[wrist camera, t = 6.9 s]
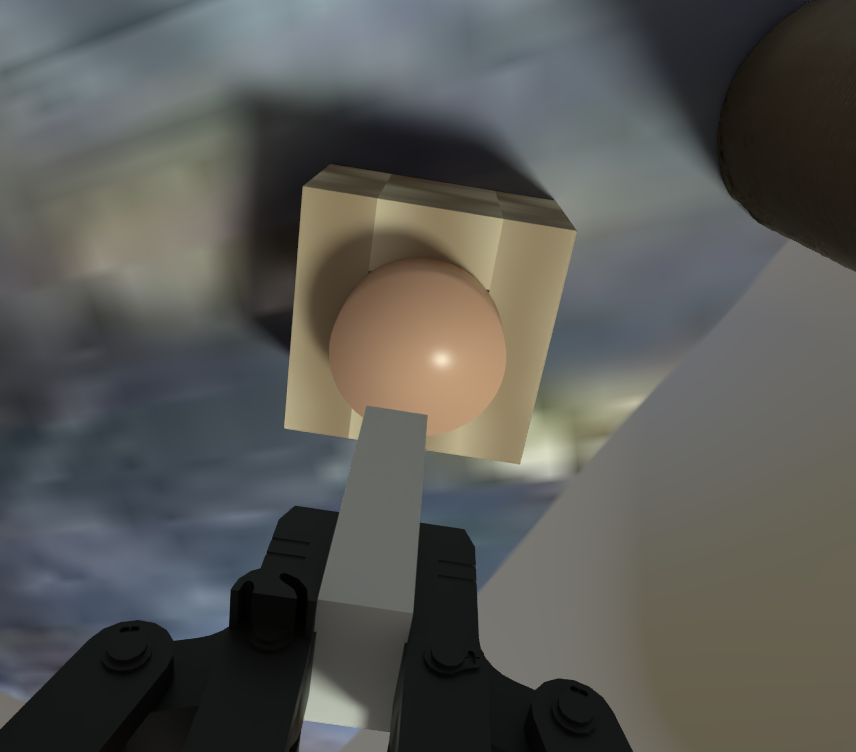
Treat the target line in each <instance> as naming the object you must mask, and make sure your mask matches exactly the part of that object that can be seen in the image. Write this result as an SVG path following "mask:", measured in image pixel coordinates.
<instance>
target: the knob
mask: <svg viewBox="0 0 856 752" xmlns="http://www.w3.org/2000/svg"><path fill="white" fill-rule="evenodd" d="M329 360H330V368H331V372H332V376H333V378H334V381H335V383H336V386H337V388H338V390H339V391H340V393H341V395H342V396H343V398H344V399H345V400H346V402H347V403H348V404H349V405H350V407H351V408H352V409H353V410H354V411H355V412H356V413H358V414H359V415H360V416H361V417H364V413H365V409H366V405H367V406H373V407H380V408H386V409H393V410H399V411H406V412H412V413H418V414H425V415H428V418H427V432H426V436H432V435H439V434H443V433H446V432H450V431H452V430H455V429H457V428H460V427H461V426H463V425H465V424H467V423H469V422H470V421H472V420H473V419H474V418H476V417H477V416H478V415H479V414H480V413H481V412H483V411H484V410H485V409H486V407H487V406H488V405H489V404H490V403H491V401H492V400H493V398H494V397H495V395H496V394H497V392H498V390H499V387H500V385H501V383H502V380H503V376H504V373H505V366H506V346H505V339H504V334H503V328H502V322H501V318H500V315H499V311H498V309H497V307H496V304H495V302H494V300H493V299H492V297H491V296H490V294H489V292H488V291H487V290H486V289H485V288H484V286H483V285H482V284H481V283H480V282H479V281H478V280H477V279H476V278H474V277H473V276H472V275H470V274H469V273H468V272H466V271H465V270H463V269H461V268H459V267H457V266H455V265H453V264H450V263H447V262H445V261H441V260H436V259H431V258H407V259H401V260H397V261H393V262H390V263H387V264H385V265H383V266H381V267H378V268H377V269H375V270H373V271H372V272H370V273H369V274H368V275H366V276H365V277H364V278H363V279H362V280H360V281H359V283H358V284H357V285H356V286H355V287H354V288H353V290H352V291H351V292H350V294H349V295H348V297H347V299H346V301H345V303H344V305H343V307H342V309H341V311H340V313H339V316H338V318H337V320H336V322H335V324H334V327H333V330H332V333H331V338H330V344H329Z"/></svg>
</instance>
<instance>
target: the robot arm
mask: <svg viewBox="0 0 856 752" xmlns="http://www.w3.org/2000/svg"><path fill="white" fill-rule="evenodd" d="M427 418H428V415H425V414H418V413H412V412H406V411H399V410H393V409H386V408H380V407H373V406H367V405H366V409H365V413H364V417H363V421H362V425H361V429H360V433H359V437H358V441H357V445H356V449H355V453H354V457H353V461H352V465H351V469H350V473H349V477H348V481H347V484H346V488H345V492H344V496H343V500H342V504H341V508H340V512H334V511H327V510H321V509H314V508H307V507H300V506H294V507H293V508H292V509H291V510H289V511H288V512H287V513H286V514H285V515H284V516H283V517H281V518H280V519H279V521H278V524H277V526H276V529H275V532H274V534H273V537H272V541H271V542H270V545H269V547H268V550H267V554H266V555H265V558H264V561H263V563H262V566H261V568H260V569H257V570H253V571H250V572H249V573H247V574H245V575H244V576H242V577H241V578H239V579H238V580H237V582H236V583H235V584H234V586H233V587H232V589H231V596H230V618H229V627H227V628H226V629H224V630H223V631H220V632H218V633H215V634H213V635H210V636H205V637H200V638H194V639H185V640H177V641H173V639H172V638H171V636H170V634H169V633H168V631H167V630H166V629H164V628H162V627H161V626H159V625H157V624H156V623H152V622H146V621H141V620H136V621H127V622H120V623H117V624H115V625H112V626H110V627H107V628H104V629H103V630H101V631H100V632H99V633H97V634H96V635H95V636H93V637H92V638H91V639H89V640H88V641H87V642H86V643H85V644H84V645H83V646H82V647H81V648H80V649H79V650H78V651H77V652H76V653H75V654H74V655H73V656H72V657H71V658H70V659H69V660H68V661H67V662H66V663H65V664H64V666H63V667H62V668H61V669H60V670H59V671H58V672H57V673H56V674H55V675H54V676H53V677H52V678H51V679H50V680H49V681H48V682H47V683H46V684H45V685H44V686H43V687H42V688H41V689H40V690H39V691H38V692H37V693H36V694H35V695H34V696H33V697H32V698H31V699H30V700H29V701H28V702H27V703H26V704H25V705H24V706H23V707H22V708H21V709H20V710H19V711H18V712H17V713H16V714H15V715H14V716H13V717H12V718H11V719H10V720H9V721H8V722H7V723H6V724H5V725H4V726H3V727H2V728H1V729H0V752H299V744H300V735H301V728H302V724H303V719H304V720H306V721H313V722H320V723H328V724H335V725H342V726H349V727H356V728H364V729H371V730H378V731H386V732H390V739H389V745H388V750H387V752H633V751H632V749H631V747H630V745H629V743H628V741H627V739H626V737H625V735H624V733H623V731H622V729H621V727H620V725H619V723H618V721H617V719H616V717H615V715H614V713H613V711H612V710H611V708H610V707H609V705H608V704H607V703H606V701H605V700H604V698H603V697H602V696H600V695H599V694H598V693H596V692H595V691H594V690H593V689H591V688H590V687H589V686H586V685H584V684H581V683H579V682H577V681H574V680H567V679H554V680H550V681H547V682H544V683H543V684H542V685H541V686H540V687H538V688H537V689H536V690H533V689H531V688H529V687H527V686H524V685H522V684H520V683H517V682H515V681H513V680H511V679H509V678H508V677H506V676H504V675H502V674H501V673H500V672H499V671H497V670H496V669H495V668H494V667H493V666H492V665H491V664H490V663H489V662H488V660H487V659H486V658H485V656H484V653H483V652H482V650H481V647H480V642H479V633H478V608H477V584H476V569H475V567H476V560H475V546H474V545H473V543H472V541H471V540H470V538H469V536H468V535H467V533H466V531H465V530H464V529H459V528H452V527H445V526H439V525H432V524H425V523H420V513H421V499H422V486H423V472H424V459H425V445H426V432H427Z"/></svg>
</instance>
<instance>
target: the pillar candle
mask: <svg viewBox="0 0 856 752" xmlns="http://www.w3.org/2000/svg"><path fill="white" fill-rule="evenodd" d="M721 119H722V120H721V121H720V122H719V128H718V156H719V160H720V166H721V169H722V175H723V178H724V181H725V183H726V186H727V188H728V189H729V193H730V194H731V196H732V198H733V199H734V200H737V201H739V202H740V203H741V204H742V205H743V206H744V208H746V209H748V210H749V212H750V213H751V214H752V217H753V218H754V219H755V220H756V221H757V222H758V223H760V224H762V225H764V226H766V227H767V228H769V229H771V230H773V231H776V232H778V233H779V234H781V235H783V236H784V237H787V238H790V239H792V240H794V241H796V242H798V243H800V244H801V245H803V246H805V247H807V248H809V249H811V250H814V251H815V252H817V253H820V254H821V255H822V256H824V257H827V258H830V259H831V260H833V261H835V262H837V263H839V264H841V265H842V266H844V267H846V268H849V269H851V270H853V271H855V272H856V0H816V1H813V2H809V3H807V4H805V5H803V6H801V7H800V8H799V9H798V10H797V11H795V12H794V13H792V14H791V15H789V16H788V17H786V18H785V19H784V20H782V21H781V22H780V23H779V24H778V25H776V26H775V27H774V28H773V29H772V30H771V31H770V32H769V33H768V34H767V35H766V36H765V37H764V38H763V39H762V40H761V41H760V42H759V43H758V44H757V45H756V46H755V47H754V49H753V50H752V51H751V52H750V54H749V55H748V56H747V58H746V60H745V61H744V62H743V64H742V65H741V66H740V68H739V70H738V71H737V73H736V74H735V77H734V79H733V82H732V84H731V86H730V87H729V89H728V92H727V95H726V98H725V101H724V104H723V108H722V110H721Z"/></svg>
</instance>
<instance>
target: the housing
mask: <svg viewBox="0 0 856 752" xmlns="http://www.w3.org/2000/svg"><path fill="white" fill-rule="evenodd" d="M576 233H577V230H576V229H575V227H574V226H573V225H572V223H571V222H570V220H569V219H568V218H567V216H566V215H565V213H564V212H563V211H562V209H561V208H560V206H559V205H558V204H557V202H556V201H553V200H547V199H541V198H535V197H529V196H523V195H517V194H511V193H505V192H499V191H493V190H487V189H480V188H474V187H468V186H462V185H456V184H450V183H444V182H438V181H432V180H426V179H420V178H413V177H407V176H401V175H395V174H389V173H383V172H377V171H371V170H365V169H359V168H353V167H347V166H340V165H334V164H330V165H329V166H327V167H326V168H325V169H324V170H322V171H321V172H320V173H319V174H317V175H316V176H315V177H314V178H312V179H311V180H310V181H309V182H307V183H306V184H305V185H304V186H303V191H302V204H301V217H300V230H299V243H298V256H297V269H296V282H295V295H294V308H293V321H292V334H291V347H290V360H289V374H288V387H287V400H286V413H285V426H284V428H285V429H292V430H298V431H305V432H311V433H318V434H325V435H331V436H338V437H344V438H351V439H357V440H358V437H359V433H360V429H361V425H362V421H363V417H361V416H360V415H359V414H358V413H356V412H355V411H354V410H353V409H352V408H351V407H350V405H349V404H348V403H347V402H346V400H345V399H344V398H343V396H342V395H341V393H340V391H339V390H338V388H337V386H336V383H335V381H334V378H333V376H332V372H331V368H330V360H329V344H330V338H331V333H332V330H333V327H334V324H335V322H336V320H337V318H338V316H339V313H340V311H341V309H342V307H343V305H344V303H345V301H346V299H347V297H348V295H349V294H350V292H351V291H352V290H353V288H354V287H355V286H356V285H357V284H358V283H359V281H360V280H362V279H363V278H364V277H365V276H366V275H368V274H369V273H370V272H372V271H373V270H375V269H377V268H378V267H381V266H383V265H385V264H387V263H390V262H393V261H397V260H401V259H407V258H431V259H436V260H441V261H445V262H447V263H450V264H453V265H455V266H457V267H459V268H461V269H463V270H465V271H466V272H468V273H469V274H470V275H472V276H473V277H474V278H476V279H477V280H478V281H479V282H480V283H481V284H482V285H483V286H484V288H485V289H486V290H487V291H488V292H489V294H490V296H491V297H492V299H493V300H494V302H495V304H496V307H497V309H498V311H499V315H500V318H501V322H502V328H503V334H504V339H505V346H506V366H505V373H504V376H503V380H502V383H501V385H500V387H499V390H498V392H497V394H496V395H495V397H494V398H493V400H492V401H491V403H490V404H489V405H488V406H487V407H486V409H485V410H484V411H483V412H481V413H480V414H479V415H478V416H477V417H476V418H474V419H473V420H472V421H470V422H469V423H467V424H465V425H463V426H461V427H460V428H457V429H455V430H452V431H450V432H446V433H443V434H439V435H432V436H426V445H425V450H429V451H436V452H442V453H449V454H455V455H462V456H468V457H475V458H481V459H488V460H494V461H501V462H508V463H514V464H520V462H521V458H522V454H523V450H524V445H525V441H526V437H527V433H528V429H529V425H530V421H531V417H532V413H533V409H534V405H535V401H536V396H537V392H538V388H539V384H540V380H541V376H542V372H543V368H544V364H545V360H546V356H547V352H548V347H549V343H550V339H551V335H552V331H553V327H554V323H555V319H556V315H557V311H558V307H559V303H560V298H561V294H562V290H563V286H564V282H565V278H566V274H567V270H568V266H569V262H570V258H571V254H572V249H573V245H574V241H575V237H576Z"/></svg>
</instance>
